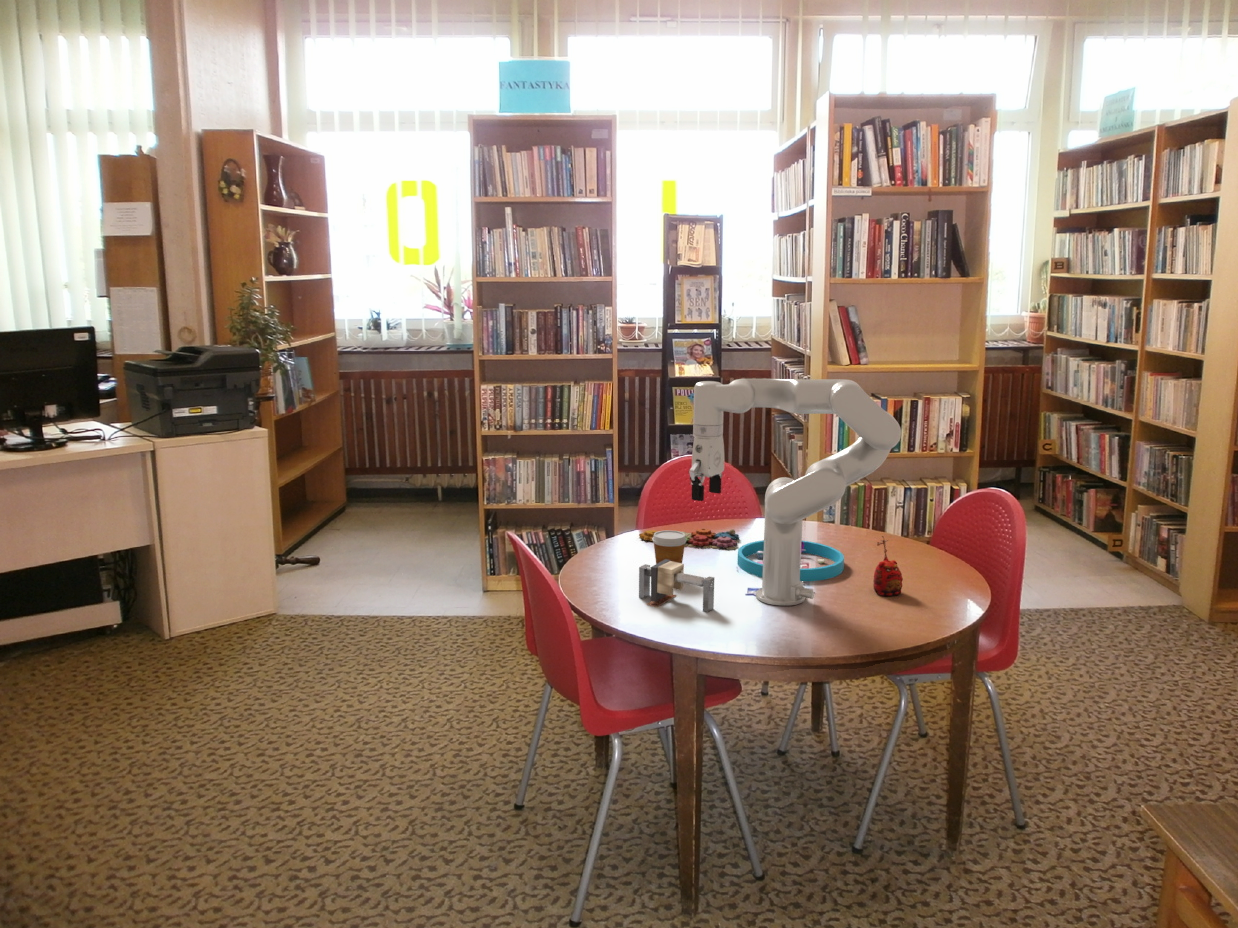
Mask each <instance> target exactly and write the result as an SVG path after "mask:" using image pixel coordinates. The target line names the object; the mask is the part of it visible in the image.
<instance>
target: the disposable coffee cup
mask: <svg viewBox="0 0 1238 928" xmlns="http://www.w3.org/2000/svg"><path fill="white" fill-rule="evenodd" d="M682 532H683V531H678V530H667V529H666V530H659V531H658V532H656V533H654V536H653V538H652V541H651V542H652V543H653V548H654V558H655V565H656V564H658V563H659V562H661V561H663V560H665V559H667V560H671V561H672V562H677V563H682V564H683V560H684V551H685V547H684V546H685V543H686V541H687V539H686V537H685V534H684V533H682Z"/></svg>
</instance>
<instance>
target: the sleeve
mask: <svg viewBox="0 0 1238 928" xmlns="http://www.w3.org/2000/svg"><path fill="white" fill-rule="evenodd" d="M684 566H685V563H683V562H682V563H677V562H672V561H669V562H667V563H665V564H663V565H661V566H659V567H658V577H657V593H662V594H666V595H674V590H677V591H682V590H683V588H684V583H680V582H675V581H674V574H676V573H678V572H679V573H684V574H685V572H684V570H685V569H684V568H685V567H684Z"/></svg>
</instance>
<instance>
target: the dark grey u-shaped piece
mask: <svg viewBox="0 0 1238 928" xmlns="http://www.w3.org/2000/svg"><path fill="white" fill-rule="evenodd" d="M669 561H671V560H667V559H665V560H663V561H661V562H659V563H658V564H656V563H655V564H654V565H652V566H650V567H651V577H650V602H652V601H654V602H657V601H658V600H660V599H662V598H663V597H665V596H667V595H666V594H662V593H657V577H658V567H659V566H661V565H663V564H665V563H667V562H669Z"/></svg>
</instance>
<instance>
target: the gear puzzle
mask: <svg viewBox="0 0 1238 928" xmlns="http://www.w3.org/2000/svg"><path fill="white" fill-rule="evenodd" d="M656 532H658V531H657V530H653V529H651V530H650V529H647V530H645V531H643V532H642V533H639V535H638V536H639V537H638V538H639V539H642V540H643V541H650V542H653V541H652V538H653V536H654V533H656ZM681 532H682V533H684V534H685V537H686V539H687V541H686V543H685V546H684V548H686V547H688V548H697V547H699V548H702V549H713V550H721V549H726V550H728V551H735V550H736V549H737V546H738V541H739V539H740V536H739V534H738V533H736V530H735V529H732V528H731V529H729V530H727V531H721V532H720V531H719V532H718V533H716V532H713V531H712V530H711V529H708V528H699V529H696V530H695V531H692V532H686V531H681Z"/></svg>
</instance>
